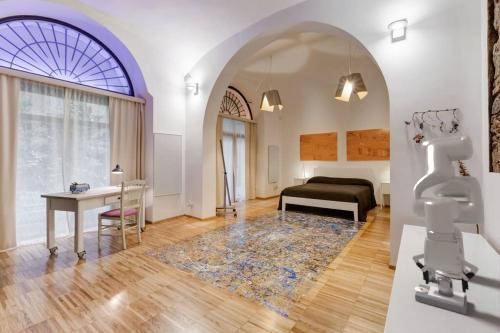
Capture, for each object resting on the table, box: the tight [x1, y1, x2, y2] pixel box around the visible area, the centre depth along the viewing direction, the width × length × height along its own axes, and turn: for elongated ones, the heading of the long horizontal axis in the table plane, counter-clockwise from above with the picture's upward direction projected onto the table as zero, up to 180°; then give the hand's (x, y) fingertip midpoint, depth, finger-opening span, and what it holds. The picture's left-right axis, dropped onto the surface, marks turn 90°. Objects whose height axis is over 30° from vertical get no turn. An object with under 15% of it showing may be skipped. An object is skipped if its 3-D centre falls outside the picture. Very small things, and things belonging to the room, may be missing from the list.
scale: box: [414, 284, 468, 316], centre depth 79 cm, size 10×14×3 cm
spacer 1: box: [428, 268, 437, 283], centre depth 94 cm, size 4×4×5 cm
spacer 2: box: [436, 276, 454, 297], centre depth 78 cm, size 4×4×5 cm
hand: (445, 286), depth 78 cm, fingers open, 9 cm apart
